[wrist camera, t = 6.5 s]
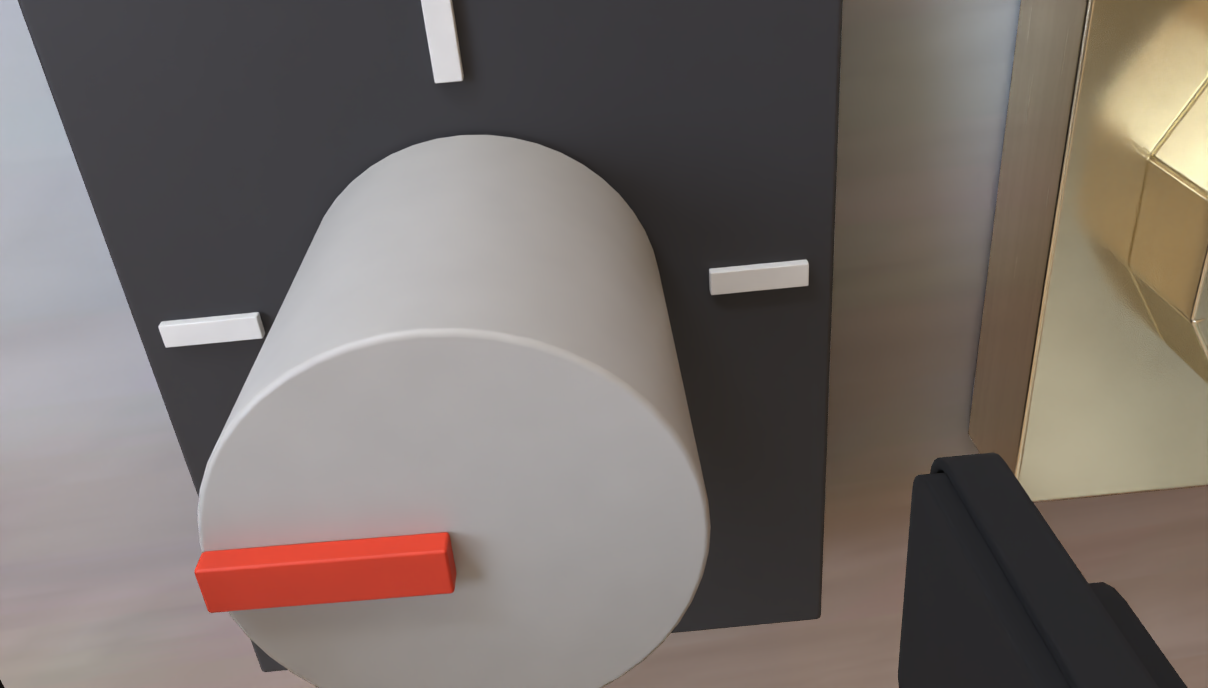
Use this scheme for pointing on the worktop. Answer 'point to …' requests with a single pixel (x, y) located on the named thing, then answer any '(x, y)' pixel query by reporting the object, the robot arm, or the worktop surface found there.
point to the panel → (501, 108)
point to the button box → (1100, 254)
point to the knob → (462, 437)
